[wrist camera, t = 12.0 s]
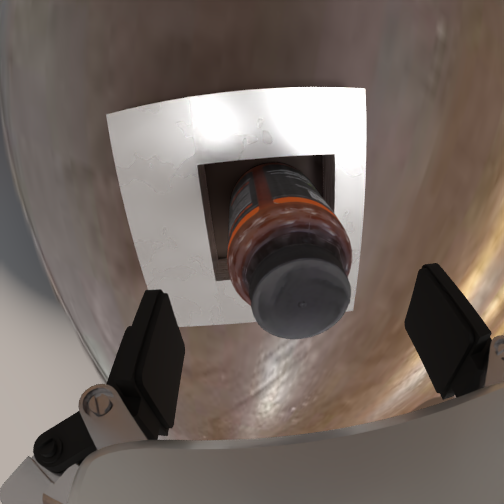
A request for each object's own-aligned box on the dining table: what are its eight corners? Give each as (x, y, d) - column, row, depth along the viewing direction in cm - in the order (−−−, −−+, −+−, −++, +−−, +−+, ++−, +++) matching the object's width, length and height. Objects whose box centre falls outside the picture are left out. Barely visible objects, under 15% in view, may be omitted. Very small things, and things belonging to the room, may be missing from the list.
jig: (348, 88, 17) (365, 88, 15) (342, 288, 25) (353, 310, 23) (123, 110, 18) (106, 114, 15) (167, 303, 25) (161, 327, 23)
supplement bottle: (229, 238, 23) (223, 357, 13) (230, 159, 20) (219, 232, 10) (309, 240, 23) (354, 352, 13) (318, 162, 20) (390, 236, 10)
